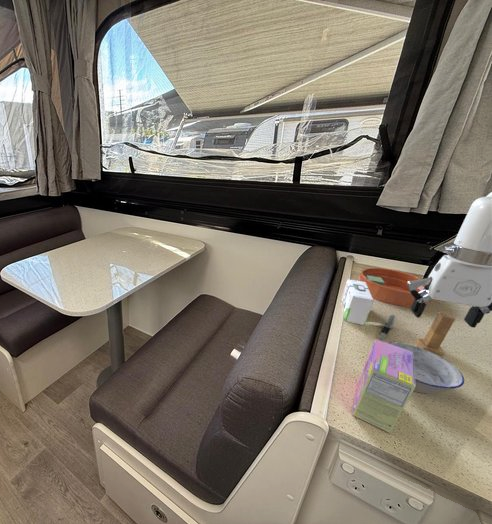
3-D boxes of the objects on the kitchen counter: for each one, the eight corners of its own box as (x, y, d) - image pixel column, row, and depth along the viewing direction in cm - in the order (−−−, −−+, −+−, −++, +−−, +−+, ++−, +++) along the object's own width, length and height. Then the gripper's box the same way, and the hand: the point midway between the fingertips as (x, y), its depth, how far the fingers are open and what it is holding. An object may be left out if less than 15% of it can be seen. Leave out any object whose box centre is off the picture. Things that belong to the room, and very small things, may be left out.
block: (377, 287, 94) (381, 277, 92) (380, 292, 91) (384, 282, 89) (363, 285, 96) (366, 275, 94) (365, 290, 92) (369, 280, 91)
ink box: (344, 321, 78) (339, 302, 87) (365, 326, 75) (358, 305, 85) (352, 295, 74) (346, 278, 84) (375, 299, 72) (366, 281, 82)
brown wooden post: (436, 345, 68) (454, 312, 64) (443, 355, 65) (463, 322, 61) (415, 340, 70) (431, 308, 66) (421, 350, 67) (439, 317, 62)
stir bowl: (413, 287, 95) (419, 273, 93) (436, 314, 80) (445, 298, 78) (351, 277, 102) (355, 264, 100) (362, 300, 88) (367, 285, 85)
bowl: (442, 416, 51) (454, 398, 49) (363, 371, 61) (370, 355, 59) (462, 385, 57) (473, 368, 55) (387, 350, 67) (394, 334, 65)
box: (357, 381, 58) (375, 338, 53) (391, 396, 55) (415, 351, 50) (350, 415, 51) (371, 368, 46) (389, 434, 48) (416, 386, 43)
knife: (372, 336, 72) (386, 340, 70) (372, 333, 71) (387, 338, 69) (382, 313, 81) (396, 316, 79) (383, 310, 81) (396, 314, 79)
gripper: (429, 255, 59) (401, 318, 66) (548, 268, 52) (502, 337, 59) (416, 244, 65) (391, 303, 72) (521, 254, 58) (482, 319, 65)
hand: (441, 318), depth 66 cm, fingers open, 9 cm apart
